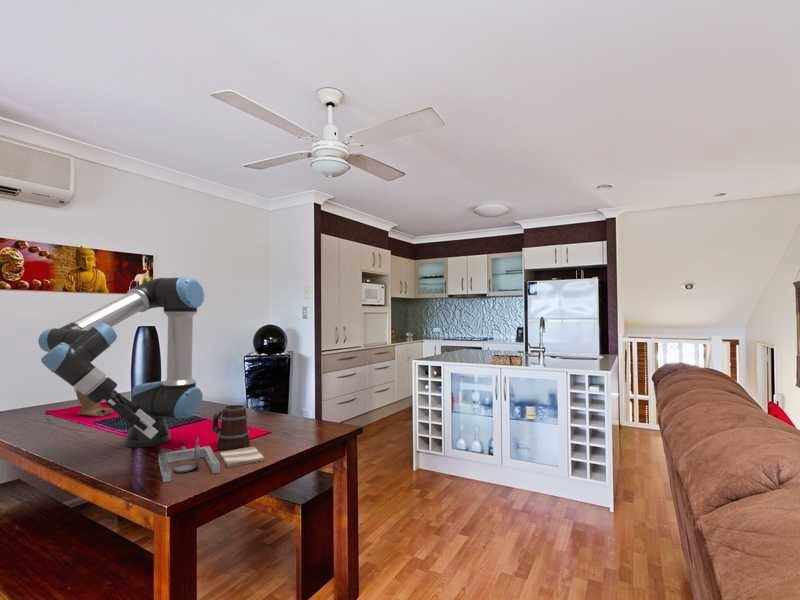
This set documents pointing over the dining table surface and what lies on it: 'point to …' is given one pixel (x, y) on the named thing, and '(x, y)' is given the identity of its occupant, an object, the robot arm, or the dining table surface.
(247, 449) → the ash board
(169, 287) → the robot arm
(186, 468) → the pocket watch
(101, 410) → the tan upright piece
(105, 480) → the dining table surface
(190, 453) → the u-shaped metal frame
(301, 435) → the dining table surface
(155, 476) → the dining table surface
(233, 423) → the mug
